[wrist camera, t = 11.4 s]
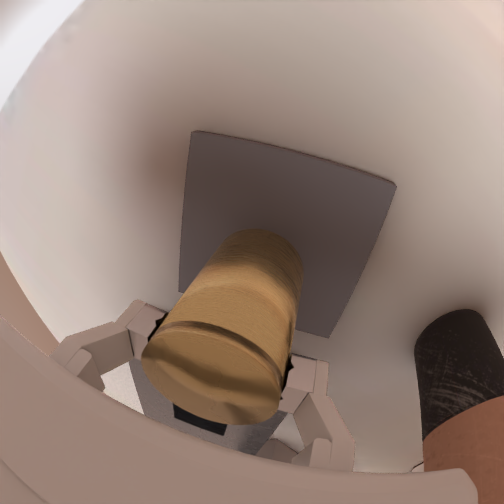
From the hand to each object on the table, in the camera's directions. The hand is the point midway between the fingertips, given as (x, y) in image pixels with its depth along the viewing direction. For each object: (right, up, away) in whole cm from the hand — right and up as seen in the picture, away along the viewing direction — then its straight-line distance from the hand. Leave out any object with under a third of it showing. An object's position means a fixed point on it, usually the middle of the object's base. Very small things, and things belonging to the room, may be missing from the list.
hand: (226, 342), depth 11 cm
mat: (+2, +4, +7) cm, 9 cm away
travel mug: (+18, -4, +8) cm, 20 cm away
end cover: (+1, +3, +5) cm, 6 cm away
